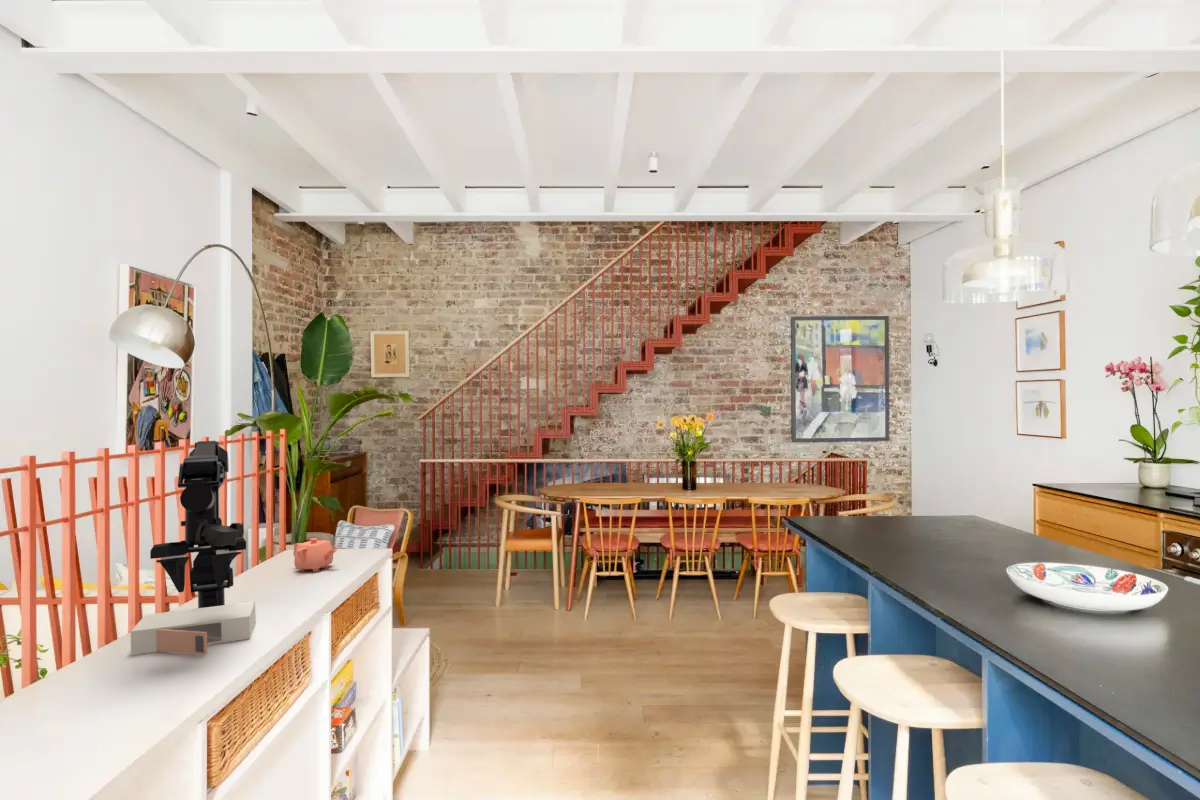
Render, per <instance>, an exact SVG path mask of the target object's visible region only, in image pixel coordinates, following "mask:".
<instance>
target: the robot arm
mask: <svg viewBox="0 0 1200 800" xmlns="http://www.w3.org/2000/svg"><path fill="white" fill-rule="evenodd" d="M229 465H230V464H229V452H228V451H227V450H226V449H224V448H222V447H221V446H220V443H219V441H216V440H201V441H200V440H199V441H197V442H194V448H193V450H191V451H190V452H189V453H188V456H186V457H185V458H184V459H183V463H179V470H178V471H179V472H178V481H177V488H178V489H183V490H182V492H181V494H180V497H179V501H180V504H181V506H182V507H183V508H184V510H185V517H184V519H185V520H183V521H182V520H181V521H180V527H184V528H185V530H184V531H185V532H184V533H185V536H184V537H185V539H184V540H180V541H173V542H165V543H157V544H153V546H152V548H151V549H150V553H149V554H150V555H149V556H150V557H149V558H150V560H152V559H153V560H154V559H156V563H157V564H158V563H159V564H160V565H161V567H162V568H163V569H164V570H165V571H166V574H167V575H168V576H169V578H170V580H171V582H172V584H173V585H174V587H175V589H176V590H177V592H178V593H184V591H185V585H186V564H187V563H188V561H189V559H190V556H185V555H187V554H191V553H197V554H196V556H195V558H194V559H193V562H192V567H190V568H189V580H190V581H189V583H190V584H189V585H190V593H191V594H192V593H197V607H198V608H205V607H214V606H222V605H226V603H225V602H226V601H225V589H230V588H231V587H234V572H233V571H234V569H233V567H231V564H232V562H233V561H234V559H235V558H237V556H238V555H241V554H242V551H245V550H247V541H246V539H245V538H244V533H245V530H244V524H243V523H240V522H232V523H230V525H223V524H222V522H223V521H222V519H221V517H220V488H221V487H222V485H223V483H224V482H225V480H226V477H227V476H226V475H227V473H229V472H230V471H229V470H230V469H229Z"/></svg>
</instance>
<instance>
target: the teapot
mask: <svg viewBox="0 0 1200 800" xmlns="http://www.w3.org/2000/svg"><path fill="white" fill-rule="evenodd" d="M337 551H338V549H337V547H336V546H332V545H331V542H330V540H325V539H322V540H320V539H318V538H317V537H313V538H310V539H309V540H308V541H305V542H302V543H301V542H298V543H294V546H293V557H294V561H293V563H294V567H295V569H299V572H300V571H303V572H306V571H307V570H312V573H318V571H319V572H320V568H321V569H329V565H330V564H332V563H333V560H334V554H335V552H337ZM305 570H306V571H305Z"/></svg>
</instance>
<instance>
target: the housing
mask: <svg viewBox="0 0 1200 800" xmlns="http://www.w3.org/2000/svg"><path fill="white" fill-rule="evenodd" d="M256 618H257V617H256V601H248V602H241V603H239V602H238V603H233V604H232V603H231V604H230V603H229V604H225V605H222V606H214V607H205V608H190V609H182V610H173V611H167V612H157V613H149V614H148V613H146V614H145V615H144V616H143V617H142V618H141V619H140V620H139V621H138V623H137V624H136V625H135V626H134V627H133V628H132V629H131V631H130V655H131V656H137V655H136V654H138V655H142V654H141V653H145V654H149V653H148V652H152V653H155V652H154V651H157V631H156V630H157V629H169V630H184V631H198V632H207V646H209V645H216V644H223V642H224V643H230V642H229V641H232V642H237V641H236V640H239V641H243V640H244V639H246V640H250V639H251V637H252V634H253V632H252V631H254V628H255V626H256V623H257V622H256V621H257V620H256ZM244 641H245V640H244Z"/></svg>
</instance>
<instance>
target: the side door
mask: <svg viewBox="0 0 1200 800" xmlns="http://www.w3.org/2000/svg"><path fill="white" fill-rule="evenodd" d="M156 631H157V651H160V652H164V653H175V654H177V653H178V654H191V655H204V656H206V655H208V645H207V632H198V631H184V630H169V629H157V630H156Z"/></svg>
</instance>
